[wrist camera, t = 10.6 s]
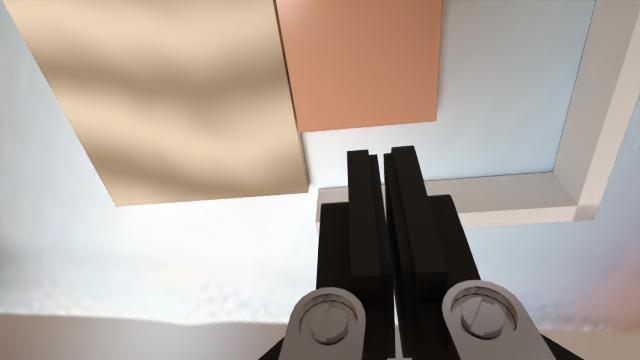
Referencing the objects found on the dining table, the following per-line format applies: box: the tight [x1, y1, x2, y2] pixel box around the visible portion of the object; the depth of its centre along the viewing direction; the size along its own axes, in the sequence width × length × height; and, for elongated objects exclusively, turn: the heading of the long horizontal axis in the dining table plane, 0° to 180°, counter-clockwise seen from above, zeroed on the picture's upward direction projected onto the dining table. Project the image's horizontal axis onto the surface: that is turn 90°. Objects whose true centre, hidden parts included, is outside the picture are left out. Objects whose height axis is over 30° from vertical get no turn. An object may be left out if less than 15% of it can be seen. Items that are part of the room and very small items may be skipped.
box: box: [316, 0, 640, 236], centre depth 20 cm, size 21×17×4 cm
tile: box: [276, 0, 442, 133], centre depth 22 cm, size 8×8×2 cm
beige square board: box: [2, 0, 309, 207], centre depth 23 cm, size 18×14×1 cm
